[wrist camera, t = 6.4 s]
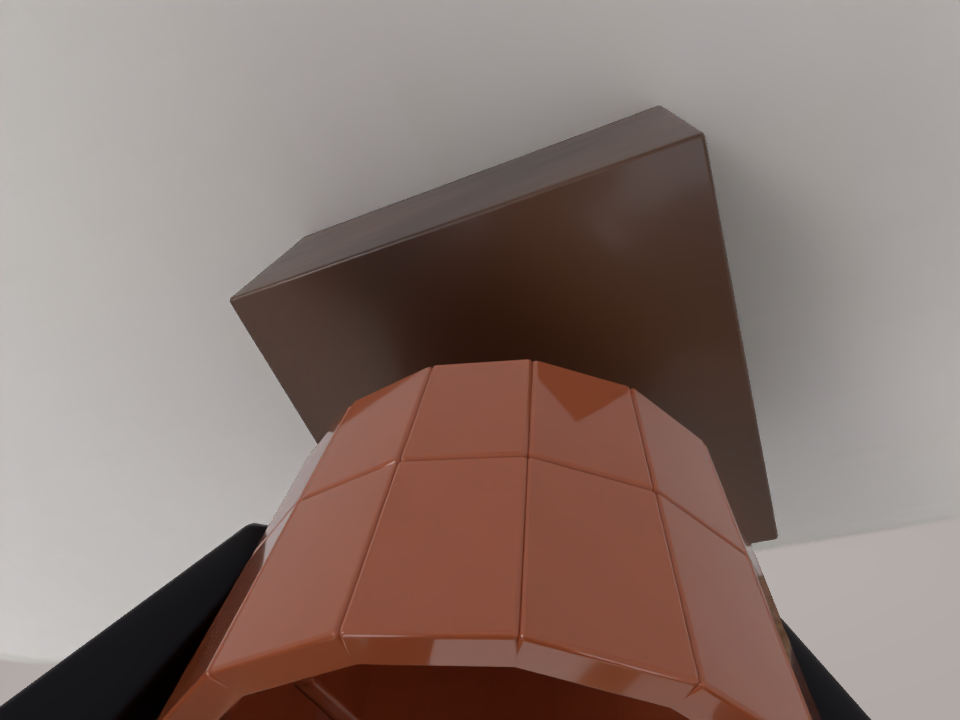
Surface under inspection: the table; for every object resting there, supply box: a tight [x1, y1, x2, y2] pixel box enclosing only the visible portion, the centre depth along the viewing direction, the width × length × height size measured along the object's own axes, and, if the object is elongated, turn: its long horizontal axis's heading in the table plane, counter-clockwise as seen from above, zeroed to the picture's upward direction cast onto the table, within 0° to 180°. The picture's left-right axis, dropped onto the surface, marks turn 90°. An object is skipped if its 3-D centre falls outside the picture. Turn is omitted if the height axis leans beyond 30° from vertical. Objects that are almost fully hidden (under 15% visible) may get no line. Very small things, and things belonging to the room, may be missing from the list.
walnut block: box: [230, 106, 778, 543], centre depth 14 cm, size 9×9×4 cm
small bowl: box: [157, 359, 821, 720], centre depth 8 cm, size 7×7×4 cm
